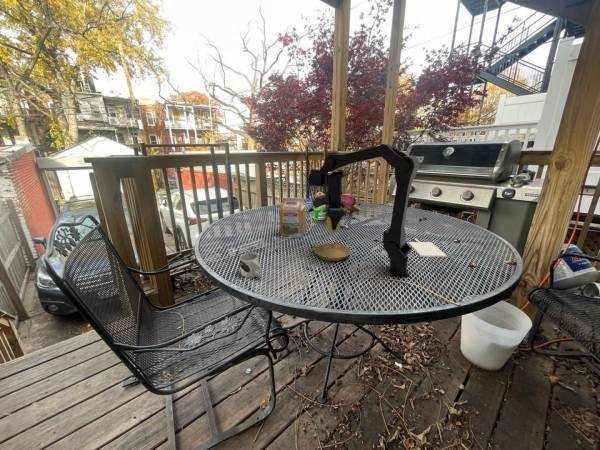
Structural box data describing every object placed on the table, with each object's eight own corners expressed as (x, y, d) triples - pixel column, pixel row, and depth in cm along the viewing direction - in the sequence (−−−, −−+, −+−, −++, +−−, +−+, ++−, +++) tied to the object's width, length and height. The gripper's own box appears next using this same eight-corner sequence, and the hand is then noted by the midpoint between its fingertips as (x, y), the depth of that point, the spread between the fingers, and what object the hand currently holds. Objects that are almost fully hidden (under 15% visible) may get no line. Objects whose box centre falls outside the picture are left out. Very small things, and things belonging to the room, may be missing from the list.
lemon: (331, 229, 105) (331, 210, 102) (342, 232, 101) (343, 212, 99) (323, 232, 101) (323, 213, 98) (335, 235, 97) (336, 215, 95)
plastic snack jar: (280, 237, 124) (278, 199, 118) (286, 230, 134) (285, 195, 128) (301, 239, 122) (300, 200, 116) (306, 232, 131) (305, 196, 126)
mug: (237, 273, 91) (235, 256, 89) (252, 267, 95) (251, 251, 93) (253, 283, 84) (251, 265, 82) (269, 276, 88) (268, 259, 86)
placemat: (446, 257, 100) (446, 255, 100) (420, 256, 101) (420, 255, 101) (431, 243, 113) (431, 242, 113) (408, 243, 114) (408, 242, 114)
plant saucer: (308, 251, 108) (308, 246, 107) (339, 246, 113) (339, 241, 112) (324, 266, 95) (324, 260, 94) (357, 260, 100) (358, 253, 99)
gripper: (313, 184, 105) (313, 220, 110) (312, 193, 87) (312, 235, 92) (340, 184, 104) (339, 220, 109) (345, 193, 86) (343, 235, 91)
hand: (333, 227), depth 100 cm, fingers closed on lemon, 5 cm apart
